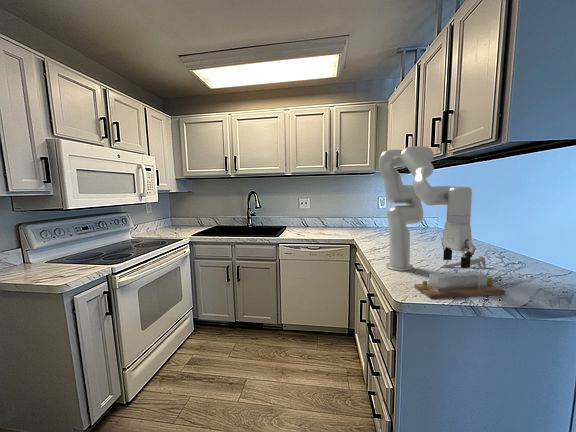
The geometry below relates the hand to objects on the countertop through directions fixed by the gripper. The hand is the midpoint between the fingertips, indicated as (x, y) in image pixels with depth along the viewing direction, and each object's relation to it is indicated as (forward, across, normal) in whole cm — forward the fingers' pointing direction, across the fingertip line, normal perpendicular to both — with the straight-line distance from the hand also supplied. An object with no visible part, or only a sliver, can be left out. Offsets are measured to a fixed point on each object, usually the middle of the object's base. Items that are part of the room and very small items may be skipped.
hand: (455, 263), depth 100 cm
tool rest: (+11, +1, 0) cm, 11 cm away
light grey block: (+9, +1, 0) cm, 9 cm away
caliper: (+12, -27, +23) cm, 37 cm away
